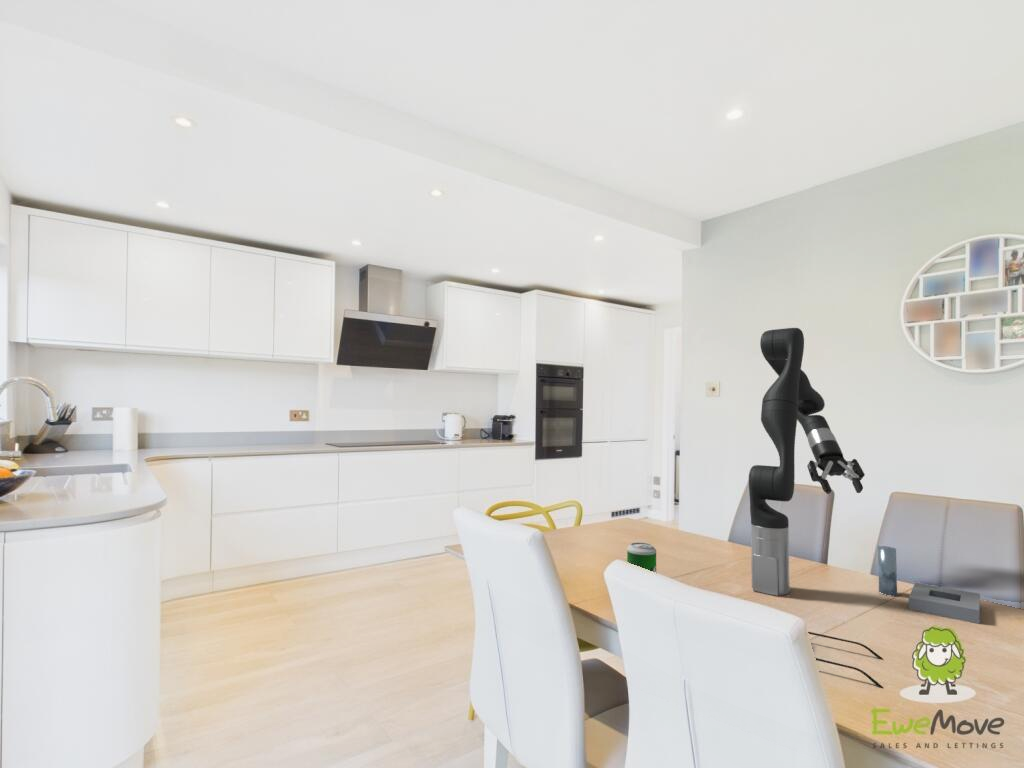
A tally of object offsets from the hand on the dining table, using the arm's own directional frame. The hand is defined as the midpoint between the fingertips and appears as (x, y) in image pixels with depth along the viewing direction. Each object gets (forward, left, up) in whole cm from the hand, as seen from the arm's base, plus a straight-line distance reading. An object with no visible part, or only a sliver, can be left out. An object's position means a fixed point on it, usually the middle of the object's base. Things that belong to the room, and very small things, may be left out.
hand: (844, 492), depth 156 cm
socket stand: (-10, -23, -25) cm, 35 cm away
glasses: (-63, -8, -26) cm, 68 cm away
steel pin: (-7, -11, -25) cm, 28 cm away
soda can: (-51, +38, -25) cm, 68 cm away
